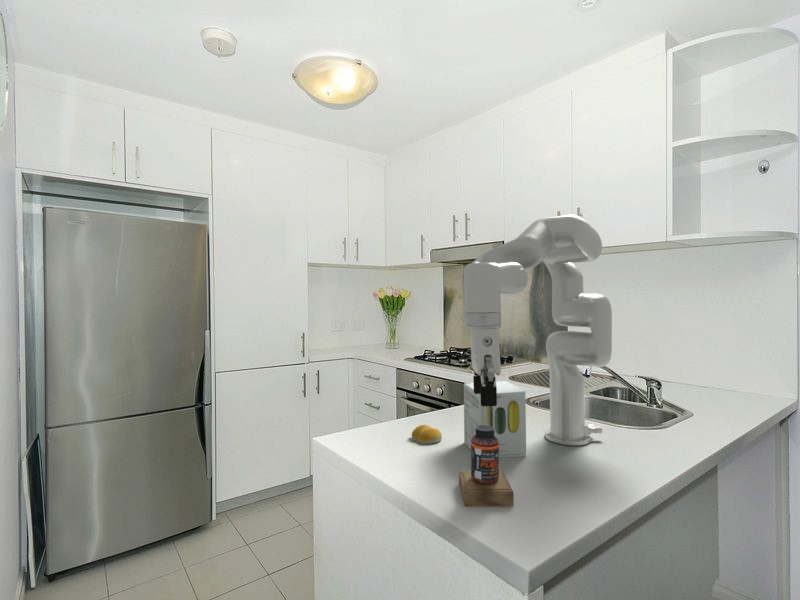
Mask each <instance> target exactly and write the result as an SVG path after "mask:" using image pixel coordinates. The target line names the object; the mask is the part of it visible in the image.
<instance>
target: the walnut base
mask: <svg viewBox="0 0 800 600" xmlns="http://www.w3.org/2000/svg"><path fill="white" fill-rule="evenodd" d="M458 485H459V490H460V494H461V497H462V501H463V505H464V507H514V505H515V504H514V489H513V488H512V486H511V484H510V482H509V480H508V478H507V476H506V474H505V472H504V470H499V479H498V481H497V482H495V483H493V484H481V483H478V482H476V481H474V480H473V479H472V477H471V470H459V471H458Z"/></svg>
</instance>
